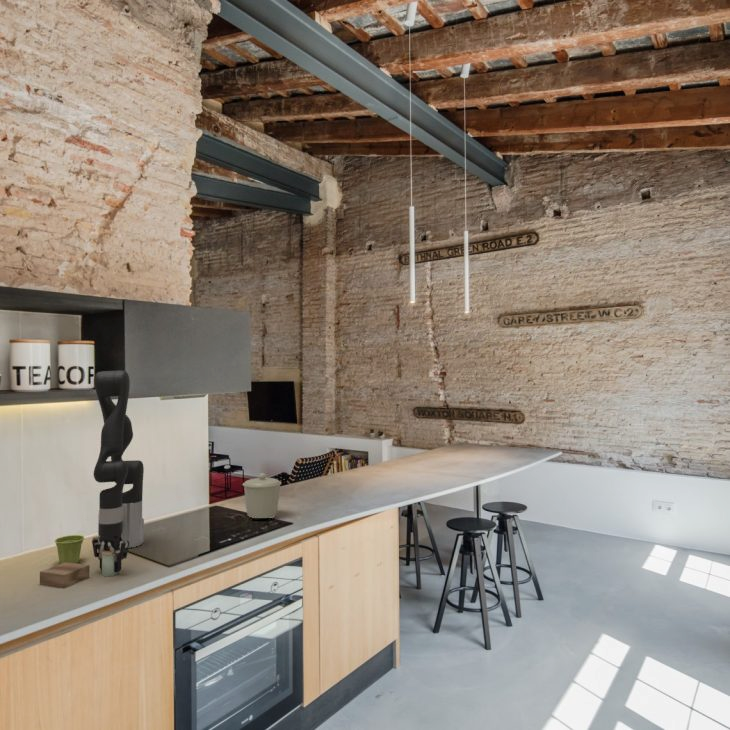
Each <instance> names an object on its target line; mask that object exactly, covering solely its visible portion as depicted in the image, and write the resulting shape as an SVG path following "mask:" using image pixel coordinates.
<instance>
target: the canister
mask: <svg viewBox="0 0 730 730" xmlns="http://www.w3.org/2000/svg"><path fill="white" fill-rule="evenodd" d="M281 485H282V481H280V480H279V479H277V478H275V477H274V478H273V477H267V475H266V473H264V472H262V473H259V474H258V476H257V477H256V478H255V477H254V478H251V479H248V480H246V481H244V482H243V483H242V486H243V489H244V498H245V499H244V500H245V507H246V514H247V517H248V516H249V517H252V518H268V517H273V516H275V515H276V516H277V514H278V509H279V498H280V489H281V488H280V487H281ZM276 516H275V517H276ZM249 517H248V518H249Z"/></svg>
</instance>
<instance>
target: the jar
mask: <svg viewBox="0 0 730 730" xmlns="http://www.w3.org/2000/svg"><path fill="white" fill-rule="evenodd" d="M116 551H119V550H115V552H116ZM117 557H118V553H117ZM119 573H120V571H119V572H117V573H115V572H114V557H113V555H112V552H111V551H105V550H104V551H102V571H101V576H102V577H112V576H116V575H119Z"/></svg>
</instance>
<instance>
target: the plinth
mask: <svg viewBox="0 0 730 730" xmlns="http://www.w3.org/2000/svg"><path fill="white" fill-rule="evenodd" d="M88 578H90V564H84V563H70V562H65V563H62V564H59V563H58V564H57V565H54V566H52V567H48V568H46V569H44V570H42V571H39V585H41V586H48V587H52V588H53V587H54V588H61V589H65V588H68V587H70V586H72V585H75V584H77V583H79V582H81V581H83V580H86V579H88Z"/></svg>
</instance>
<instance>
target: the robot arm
mask: <svg viewBox="0 0 730 730" xmlns="http://www.w3.org/2000/svg"><path fill="white" fill-rule="evenodd" d="M93 381H94V382H93V383H94V390H95V393H96V397H97V399H98V403H99V406H100V409H101V410H100V411H101V414H102V419H103V426H102V428H101V433H100V449H99V450H100V451H99V455H98V458H97V461H96V464H95V466H94V468H93V469H94V470H93V478H94V480H95V481H96V482H97V483H100V484H101V483H115V485H114V486H111V487H108V488H106V489H105V488H104V489H103V490H100V492H99V503H98V504H99V510H98V525H97V526H98V527H97V528H98V531H97V532H98V533H97V534H98V536H99V537H98V538H94V539H92V540H91V544H92V550H93V557H94V558H98V560H99V569H100V571H101V572H102V551H104V550H105V551H111V552H112V555H113V557H114V572H115V573H117V572H119V573H120V571H121V570H122V560H124V559H126V558H127V557H128V553H129V549H130V548H131V547H132V548H136V546H137V547H140V546H141V545H142V544H143V543H145V539H144V538H145V519H144V517H143V494H144V493H143V487H144V469H145V467H144V464H143V462H142V461H141V460H123V458H122V456H123V454H124V453H125V451H126V450H127V448H128V447H129V446H130V444H131V442H132V441H133V437H134V432H133V426H132V425H133V424H132V421H131V419H130V417H129V416H128V415H127V409H128V402H129V396H130V395H129V394H130V384H131V383H130V381H131V380H130V376H129V374H128V372H127V371H126V370H103V371H98V372H96V373H95V375H94V379H93ZM111 397H117V402H116V403H114V401H113V400H112V398H111ZM109 458H110V460H109V461H108V459H109ZM125 485H132V488H130V489H129V490H127V491H123V490H124V486H125ZM115 550H119V551H116V552H115ZM117 553H118V557H117Z"/></svg>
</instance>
